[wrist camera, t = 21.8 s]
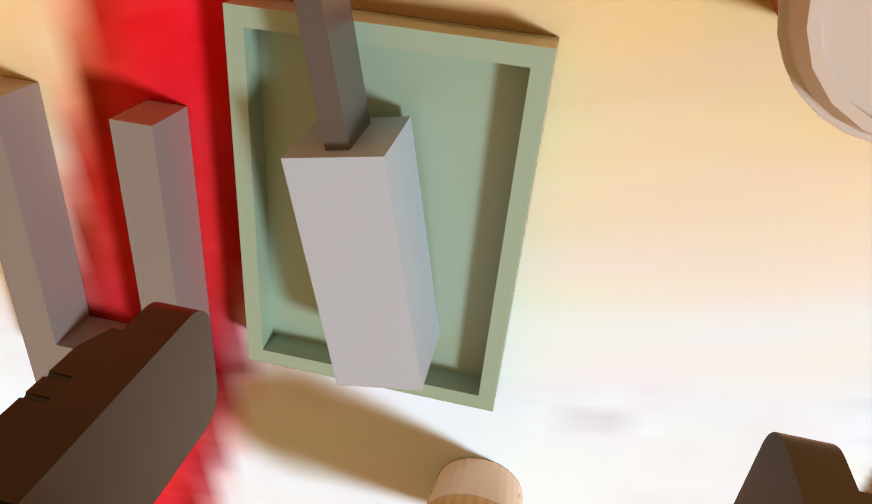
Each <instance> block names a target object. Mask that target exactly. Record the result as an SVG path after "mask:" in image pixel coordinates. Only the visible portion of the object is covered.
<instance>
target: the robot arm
mask: <svg viewBox="0 0 872 504" xmlns="http://www.w3.org/2000/svg"><path fill="white" fill-rule="evenodd" d="M217 395H218V386H217V376H216V367H215V358H214V348H213V339H212V330H211V322H210V319H209V316H208V314H207V313H206V312H204V311H201V310H196V309H191V308H186V307H182V306H177V305H172V304H167V303H162V302H152V303H150V304H149V305H147V306H146V307H145V308H144V309H143V310H142V311H141V312H140V313H139V314H138V315H137V316H136V317H134V318H133V319H132V320H131V321H130V322H129V323H128V324H127V325H126V326H125V327H124V328H123V329H122V330H121V329H117V328H111V329H109V330H107V331H105V332H103V333H101V334H99V335H97V336H95V337H93V338H91V339H89V340H87V341H85V342H83V343H81V344H79V345H77V346H76V347H75V348H74V349H73V350H71V351H70V352H69V353H68V354H67V355H66V356H65V357H64V358H63V359H61V360H60V361H59V362H58V363H57V364H56V365H55V366H54V367H53V368H52V369H50V370H49V374H48V376H47V377H45V376H43V377H42V378H41V379H39V380H38V381H37V382H36V383H35V384H34V385H33V386H32V387H31V388H30V389H28V390H27V391H26V395H25V397H24V398H19V399H17V400H16V401H15V402H14V403H13V404H12V405H11V406H10V407H9V408H8V409H6V410H5V411H4V412H3V413H2V414H1V415H0V504H154V502H155V501H156V499H157V498H158V496H159V495H160V494H161V492H162V491H163V489H164V488H165V487H166V485H167V484H168V482H169V481H170V479H171V478H172V477H173V475H174V474H175V472H176V471H177V469H178V468H179V467H180V465H181V464H182V462H183V461H184V460H185V458H186V457H187V455H188V454H189V452H190V451H191V450H192V448H193V447H194V445H195V444H196V443H197V441H198V440H199V438H200V437H201V435H202V434H203V433H204V431H205V430H206V428H207V426H208V424H209V423H210V420H211V418H212V416H213V413H214V410H215V406H216V402H217ZM734 504H872V494H870V493H865V492H861V491H859V490H858V488H857V485H856V483H855V480H854V478H853V476H852V473H851V471H850V468H849V466H848V464H847V461H846V459H845V457H844V455H843V453H842V451H841V450H840V448H839V447H837V446H836V445H834V444H830V443H826V442H821V441H816V440H811V439H806V438H802V437H797V436H792V435H787V434H782V433H778V432H772V433H770V434H769V435H768V436H767V437H766V439H765V440H764V442H763V444H762V446H761V448H760V450H759V452H758V454H757V456H756V458H755V461H754V463H753V465H752V467H751V469H750V471H749V473H748V475H747V477H746V479H745V481H744V484H743V486H742V488H741V490H740V492H739V494H738V496H737V498H736V500H735V502H734Z"/></svg>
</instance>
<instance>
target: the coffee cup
mask: <svg viewBox="0 0 872 504" xmlns="http://www.w3.org/2000/svg"><path fill="white" fill-rule="evenodd" d="M427 504H522V489H521V486H520V484H519V482H518V480H517V479H516V477H515V476H514V475H513V474H512V473H511V472H510V471H509V470H507V469H506V468H504V467H503V466H501V465H499V464H497V463H495V462H492V461H489V460H486V459H480V458H463V459H458V460H455V461H453V462H451V463H449V464H447V465H446V466H445V467H444V468H443V469H442V470H441V472H440V474H439V476H438V478H437V481H436V483H435V486H434V488H433V490H432V493H431V495H430V497H429V500H428V502H427Z"/></svg>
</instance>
